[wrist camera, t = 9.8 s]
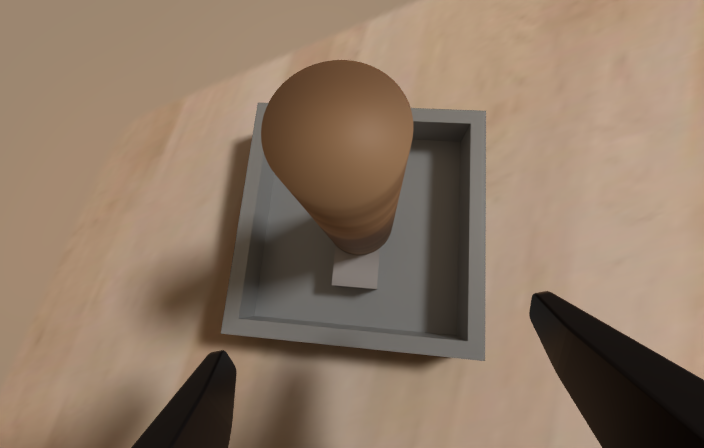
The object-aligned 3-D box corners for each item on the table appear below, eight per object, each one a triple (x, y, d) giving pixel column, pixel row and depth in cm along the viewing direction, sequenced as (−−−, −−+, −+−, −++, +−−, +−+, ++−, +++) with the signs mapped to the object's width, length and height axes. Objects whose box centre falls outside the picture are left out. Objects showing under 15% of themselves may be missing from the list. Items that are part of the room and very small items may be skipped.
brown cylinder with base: (387, 290, 18) (405, 285, 7) (324, 284, 19) (238, 270, 7) (395, 173, 20) (420, 2, 8) (336, 170, 20) (280, 1, 9)
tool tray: (467, 350, 18) (485, 361, 15) (244, 327, 19) (220, 333, 16) (470, 136, 21) (485, 110, 18) (273, 127, 22) (257, 102, 19)
